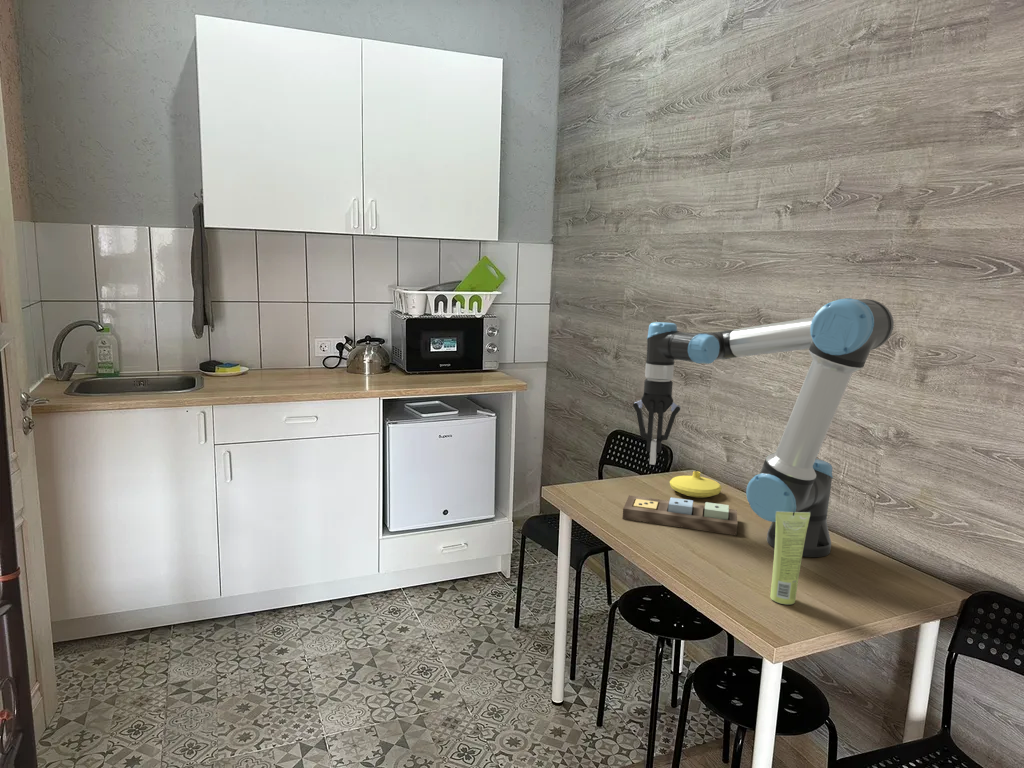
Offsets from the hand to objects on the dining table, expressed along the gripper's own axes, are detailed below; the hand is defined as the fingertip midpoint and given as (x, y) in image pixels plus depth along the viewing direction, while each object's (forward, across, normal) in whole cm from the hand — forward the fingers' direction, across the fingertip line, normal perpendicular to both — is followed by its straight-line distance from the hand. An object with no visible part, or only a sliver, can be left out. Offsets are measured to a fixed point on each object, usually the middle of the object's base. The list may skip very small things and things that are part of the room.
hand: (652, 463), depth 190 cm
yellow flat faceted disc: (+16, -12, -26) cm, 32 cm away
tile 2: (+13, -8, 0) cm, 16 cm away
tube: (+16, -32, +41) cm, 54 cm away
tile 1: (+13, -18, 0) cm, 22 cm away
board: (+15, -8, 0) cm, 17 cm away
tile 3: (+15, +1, 0) cm, 15 cm away
